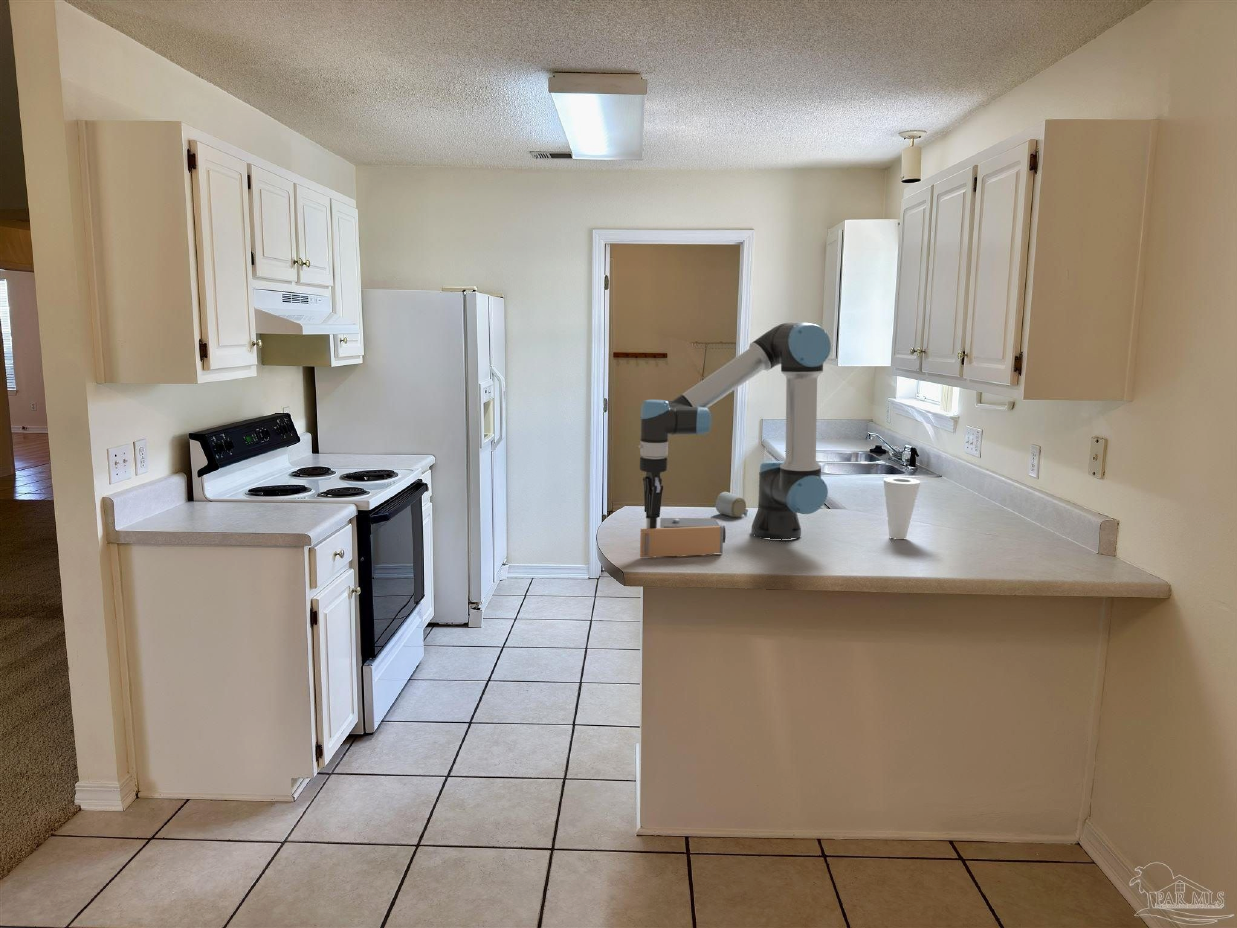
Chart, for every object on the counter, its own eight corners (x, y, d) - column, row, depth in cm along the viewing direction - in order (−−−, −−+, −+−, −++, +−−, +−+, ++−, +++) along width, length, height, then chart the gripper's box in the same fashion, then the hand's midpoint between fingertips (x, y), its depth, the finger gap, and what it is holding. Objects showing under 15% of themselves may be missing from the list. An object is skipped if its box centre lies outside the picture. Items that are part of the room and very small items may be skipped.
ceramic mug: (732, 519, 277) (733, 496, 275) (714, 514, 283) (715, 492, 282) (753, 515, 283) (755, 493, 282) (735, 511, 290) (736, 489, 288)
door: (721, 553, 235) (722, 525, 234) (723, 555, 233) (724, 527, 232) (639, 556, 231) (640, 528, 230) (641, 558, 229) (642, 530, 228)
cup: (901, 532, 263) (905, 476, 260) (923, 541, 253) (928, 483, 250) (872, 534, 260) (876, 477, 257) (893, 543, 250) (897, 484, 247)
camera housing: (720, 544, 246) (721, 515, 244) (726, 554, 236) (727, 524, 234) (659, 544, 245) (660, 515, 243) (662, 554, 235) (663, 523, 234)
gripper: (634, 452, 234) (632, 534, 238) (646, 460, 221) (643, 546, 226) (660, 452, 235) (658, 533, 240) (673, 460, 223) (670, 545, 227)
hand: (651, 539), depth 233 cm, fingers closed
